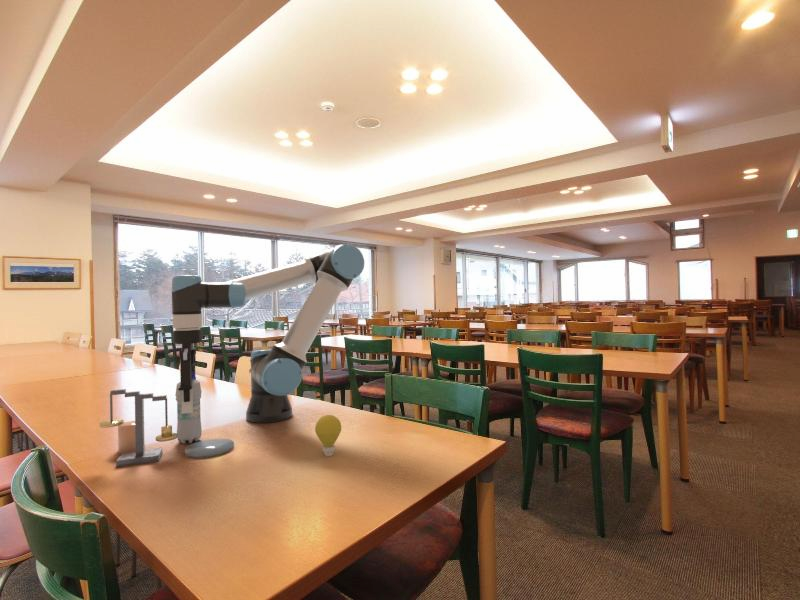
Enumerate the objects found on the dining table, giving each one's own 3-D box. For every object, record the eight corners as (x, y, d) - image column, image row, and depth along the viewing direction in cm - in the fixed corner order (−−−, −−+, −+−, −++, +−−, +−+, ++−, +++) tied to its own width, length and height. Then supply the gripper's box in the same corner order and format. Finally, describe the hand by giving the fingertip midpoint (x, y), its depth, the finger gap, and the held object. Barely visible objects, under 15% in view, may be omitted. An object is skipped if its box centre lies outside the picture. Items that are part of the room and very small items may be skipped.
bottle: (191, 445, 116) (190, 373, 116) (170, 444, 117) (169, 372, 117) (207, 437, 123) (206, 369, 123) (187, 436, 124) (186, 369, 124)
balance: (179, 451, 112) (178, 383, 112) (176, 459, 106) (175, 387, 106) (104, 460, 106) (102, 389, 106) (96, 469, 100) (95, 394, 100)
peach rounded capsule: (146, 444, 118) (146, 419, 118) (141, 451, 112) (141, 425, 112) (121, 447, 116) (121, 422, 116) (115, 454, 110) (115, 428, 110)
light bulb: (346, 451, 110) (345, 412, 110) (334, 460, 104) (333, 420, 104) (323, 448, 112) (323, 411, 112) (310, 457, 106) (309, 417, 106)
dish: (234, 439, 120) (234, 436, 120) (233, 454, 109) (233, 450, 109) (187, 445, 116) (187, 442, 116) (181, 461, 105) (181, 457, 105)
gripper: (177, 327, 128) (179, 403, 128) (166, 332, 109) (168, 420, 109) (204, 326, 130) (206, 400, 130) (198, 330, 112) (200, 416, 112)
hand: (188, 409), depth 120 cm, fingers closed on bottle, 7 cm apart
